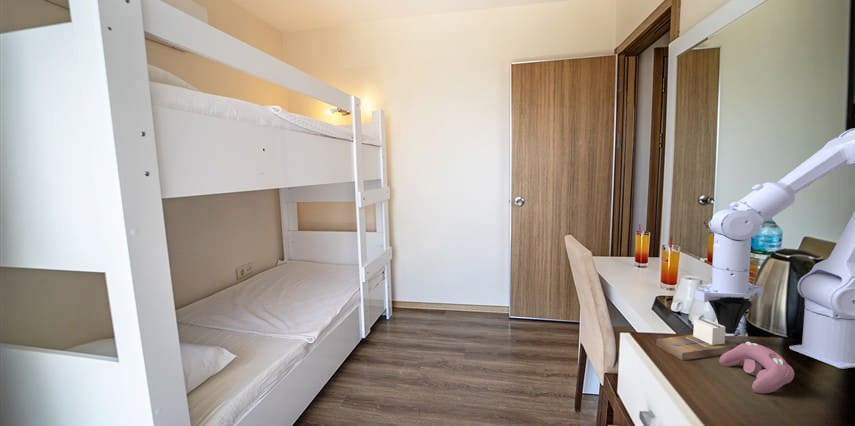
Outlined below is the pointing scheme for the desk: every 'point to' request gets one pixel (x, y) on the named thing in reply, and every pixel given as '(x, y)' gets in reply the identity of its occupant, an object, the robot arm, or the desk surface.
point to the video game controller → (753, 359)
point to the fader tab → (709, 331)
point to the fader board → (692, 347)
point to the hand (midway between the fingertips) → (727, 331)
